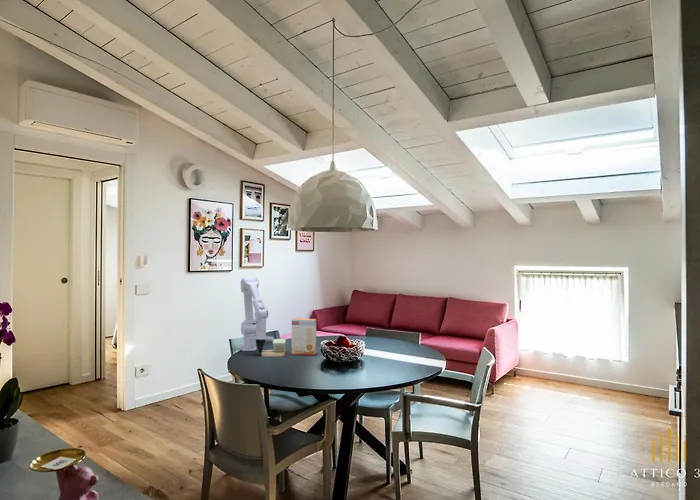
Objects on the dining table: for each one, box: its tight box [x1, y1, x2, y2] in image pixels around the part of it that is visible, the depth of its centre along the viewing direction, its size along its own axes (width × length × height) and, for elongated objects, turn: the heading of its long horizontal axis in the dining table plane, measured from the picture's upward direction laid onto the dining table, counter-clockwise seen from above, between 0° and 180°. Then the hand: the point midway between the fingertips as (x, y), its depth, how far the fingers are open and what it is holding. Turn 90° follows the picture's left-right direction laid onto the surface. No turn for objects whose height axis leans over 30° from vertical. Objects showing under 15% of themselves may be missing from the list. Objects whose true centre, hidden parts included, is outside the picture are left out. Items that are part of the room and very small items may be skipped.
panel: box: [260, 349, 284, 357], centre depth 255 cm, size 8×12×2 cm, turn 97°
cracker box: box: [290, 317, 317, 356], centre depth 259 cm, size 14×6×21 cm, turn 84°
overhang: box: [272, 338, 287, 357], centre depth 257 cm, size 12×7×8 cm, turn 7°
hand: (260, 352), depth 254 cm, fingers closed
